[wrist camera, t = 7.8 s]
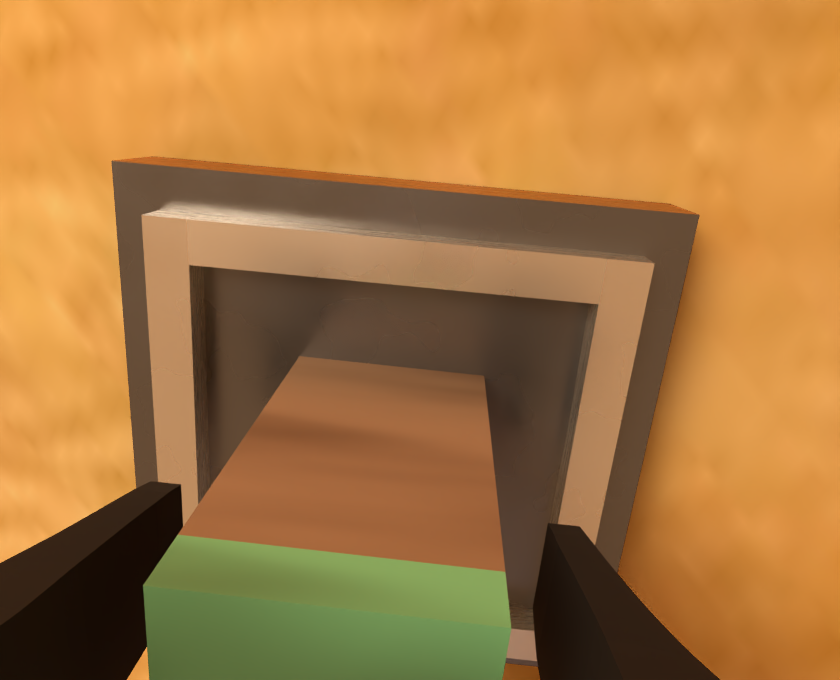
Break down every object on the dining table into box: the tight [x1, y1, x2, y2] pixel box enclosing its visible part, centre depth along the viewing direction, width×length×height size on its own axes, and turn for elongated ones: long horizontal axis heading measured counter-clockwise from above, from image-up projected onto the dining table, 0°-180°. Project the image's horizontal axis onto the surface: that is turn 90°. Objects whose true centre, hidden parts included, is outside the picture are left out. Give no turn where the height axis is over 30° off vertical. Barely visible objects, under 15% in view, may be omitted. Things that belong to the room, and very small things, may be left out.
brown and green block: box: [143, 356, 511, 680], centre depth 12 cm, size 4×4×8 cm
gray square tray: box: [112, 157, 699, 667], centre depth 16 cm, size 13×13×3 cm
